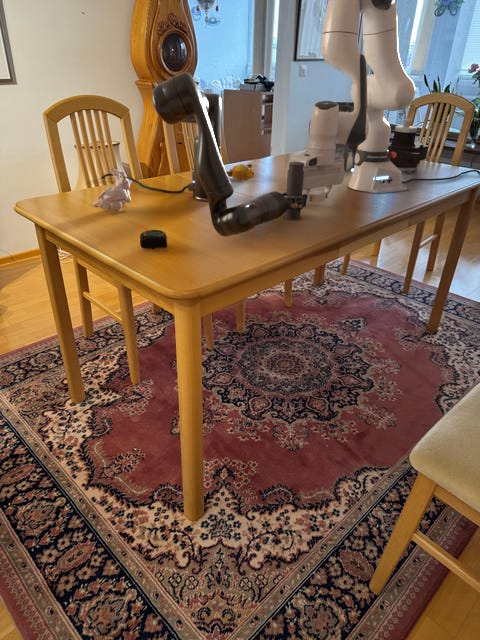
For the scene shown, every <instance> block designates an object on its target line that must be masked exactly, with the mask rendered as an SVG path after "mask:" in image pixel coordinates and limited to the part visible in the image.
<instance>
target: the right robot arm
mask: <svg viewBox="0 0 480 640" xmlns="http://www.w3.org/2000/svg"><path fill="white" fill-rule="evenodd" d="M361 14H362V49H363V50H362V52H363V53H361V51H360V48H359V32H360V25H361V24H360V23H361ZM398 28H399V27H398V10H397V2H396V0H328V2H327V5H326V9H325V14H324V18H323V24H322V31H321V37H320V38H321V39H320V54H321V57H322V59H323V60H324V62H325V63H326V64H327V65H328V66H330V67H331V68H333V69H335V70H337V71H339V72H341V73H342V74H345V75H347V76H348V77H349V79H351V81H352V85H351V87H350V98H351V102H354V111H353V112H339V107H338V104H337V103H335V102H336V101H333V100H332V101H331V100H322V101H318V102H315V103H314V105H313V108H312V111H311V116H310V120H309V123H308V135H309V142H308V146H307V150H305V151H303V152H302V153H300V154H298V155H295V157H294V158H293V162H302V163H304V168H303V170H304V180H303V191H302V193H303V194H307V196H308V198H307V201H306V203H310V202H311V201H312V196H310V194H309V192H310V191H311V189H316V188H323V187H324V190H323V192H325V193H326V199H325V200H328V198H329V194H330V192H331V190H332V188H333V186H336V185H342V184H343V182H344V180H345V171H344V158H343V157H342V154H338V155H336V151H335V150H336V145H335V144H346V145H350V146H358V148H357V149H356V155H355V166H353V168H351V169H350V172H352V174H351V176H350V180H349V182H348V184H347V187H348V188H350V189H352V190H355V191H359V192H367V193H372V194H386V193H387V194H388V193H393V192H394V193H395V192H404V191H408V186H406V184H407V183H409V182H410V183H411V182H414V181H415V182H417V181H420V182H421V181H425V182H433V181H448V180H453V179H456V178H458V177H460V176H461V175H465V174H468V173H473V172H475V173H477V174H478V175H480V170H478V169H470V170H469V169H468V170H466V171H462V172H460V173H458V174H456V175H453V176H449V177H438V178H437V177H433V178H421V177H420V178H410V179H408V180H405V181H403V173H402V171H400V170H399V169H398V168H397V167H396V166H395V165H394V164H393V163H392V162H391V161H390V157H392V158H395V157H396V156H397V154H395V152H390V151H388V145H389V143H390V141H391V140H390V139H391V135H392V128H391V125H390V124H389V122H388V121H387V120H386V117H385V111H387V112H397V111H402V110H406V109H408V108H409V107H410V106H411V104H412V103H413V101H414V99H415V96H416V85H415V83H414V81H413V80H412V79H411V78H410V77H409V76H408V74H407V73H406V71H405V69H404V67H403V64H402V61H401V58H400V57H401V56H400V53H399V36H398V35H399V31H398ZM367 65H368V66H369V67H370V69H371V70H372V73H370V74H368V70H367V69H368V68H367Z"/></svg>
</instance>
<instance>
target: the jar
mask: <svg viewBox="0 0 480 640" xmlns="http://www.w3.org/2000/svg"><path fill="white" fill-rule="evenodd" d="M303 168H304V163H302V162H294V161H290V162H289V163H288V169H287V175H286V189H285V192H286V196H293V195H294V196H301V195H303V180H304V170H303ZM297 201H298V199H297ZM301 213H302V210H301V211H298V210H297V208H292V209H288V210H286V212H285V213H284V215H283V218H284V219H286V220H291V221H297V220H300V219H301Z"/></svg>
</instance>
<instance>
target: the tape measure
mask: <svg viewBox="0 0 480 640" xmlns="http://www.w3.org/2000/svg"><path fill="white" fill-rule="evenodd" d="M167 236H168V235H167V234H166V232H165V231H164V230H161V229H147V230H144V231H143V232H141V233H140V235H139V240H140V241H139V245H140V246H139V247H141V248H142V249H146V250H157V249H167V248H168V240H167V239H168V237H167Z"/></svg>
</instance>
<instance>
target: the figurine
mask: <svg viewBox="0 0 480 640" xmlns="http://www.w3.org/2000/svg"><path fill="white" fill-rule="evenodd" d="M108 171H109V172H110V174H112V175H113V176H112V177H114V178H115V185H109V186H107V187H106V188H105V189H104V190H103V191H102V192H101V193H100V195H98V196H97V198H96V199H97V200H96V201H94V202H92V206H93V207H94V208H100V209H102V210H105V211H110V212H116V213H118V212H119V213H120V212H124V210H123V209H122V207H126V203H128V204H129V203H131V202H132V198H131V196H130V195H131V194H130V193H131V192H130V188H131V184H132V183H133V181H132V180H129V179H127V178H126V177H127V175H126V173H125V172H124V171H123V170H121V169H120V168H117V169H116V168H114V167H111V168H109V169H108ZM120 176H121V177H122V178H120Z"/></svg>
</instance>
